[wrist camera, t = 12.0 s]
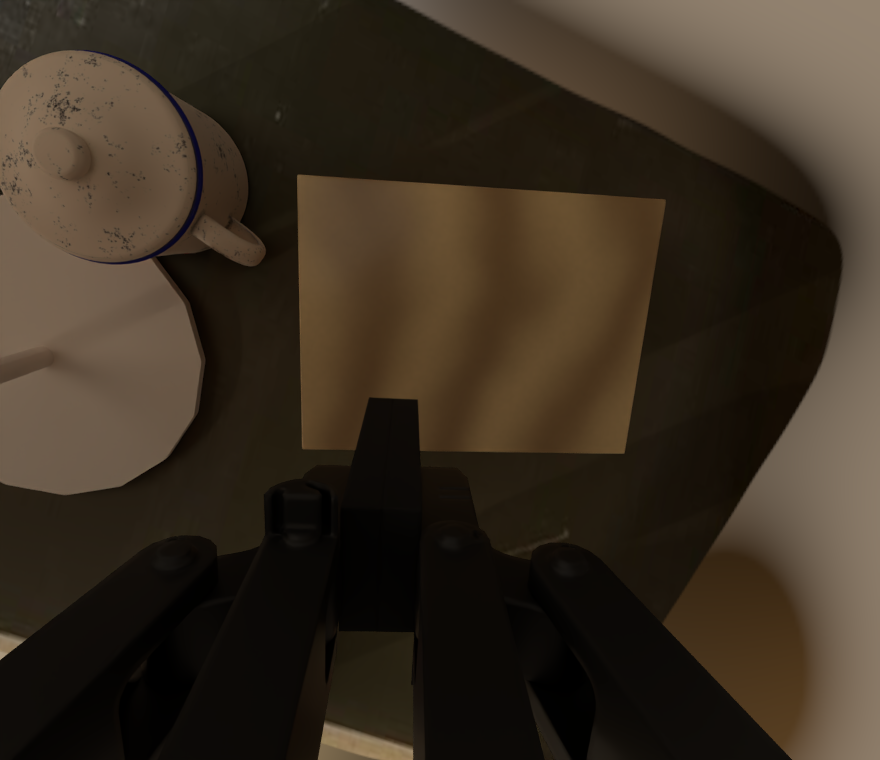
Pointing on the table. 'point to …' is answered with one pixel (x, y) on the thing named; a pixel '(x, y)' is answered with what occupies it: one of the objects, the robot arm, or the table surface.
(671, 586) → the table surface
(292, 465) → the table surface
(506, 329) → the wooden box lid
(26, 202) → the teacup with lid
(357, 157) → the table surface
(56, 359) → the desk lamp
